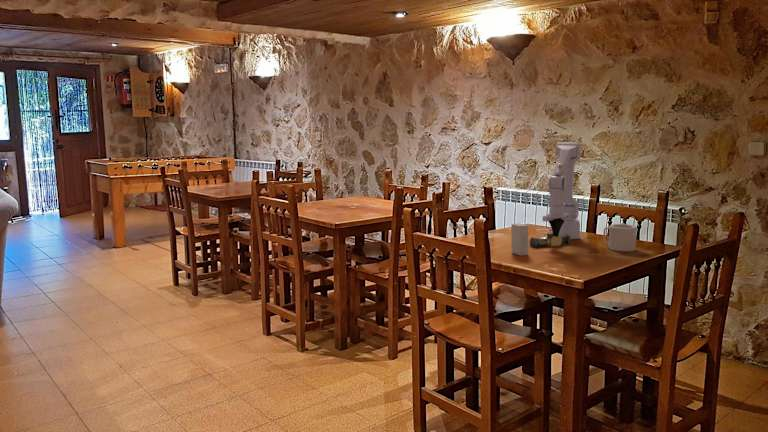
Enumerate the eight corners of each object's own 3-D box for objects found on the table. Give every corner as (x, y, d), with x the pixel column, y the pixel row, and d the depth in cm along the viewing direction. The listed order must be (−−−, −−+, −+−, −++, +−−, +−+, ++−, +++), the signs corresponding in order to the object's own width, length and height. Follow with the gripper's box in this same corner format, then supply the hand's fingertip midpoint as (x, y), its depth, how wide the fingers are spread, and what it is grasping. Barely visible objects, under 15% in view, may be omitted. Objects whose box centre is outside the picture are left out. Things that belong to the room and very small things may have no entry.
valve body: (555, 244, 269) (555, 233, 268) (562, 246, 264) (562, 235, 264) (541, 245, 266) (542, 234, 266) (549, 247, 262) (549, 236, 261)
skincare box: (528, 254, 247) (529, 225, 245) (519, 255, 245) (520, 226, 243) (519, 251, 252) (520, 223, 250) (510, 252, 250) (511, 223, 249)
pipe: (563, 243, 271) (564, 233, 270) (570, 245, 266) (571, 235, 265) (529, 247, 264) (529, 236, 263) (536, 249, 260) (536, 238, 259)
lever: (549, 233, 266) (549, 228, 266) (556, 233, 265) (556, 229, 265) (545, 238, 255) (546, 233, 255) (552, 238, 254) (553, 234, 254)
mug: (639, 249, 257) (641, 225, 255) (629, 253, 249) (631, 229, 248) (608, 244, 266) (609, 222, 264) (597, 248, 258) (598, 225, 257)
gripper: (560, 201, 262) (559, 232, 265) (537, 205, 255) (536, 237, 257) (574, 203, 257) (572, 235, 259) (550, 207, 249) (549, 239, 251)
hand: (555, 236), depth 258 cm, fingers closed, pressing on lever
